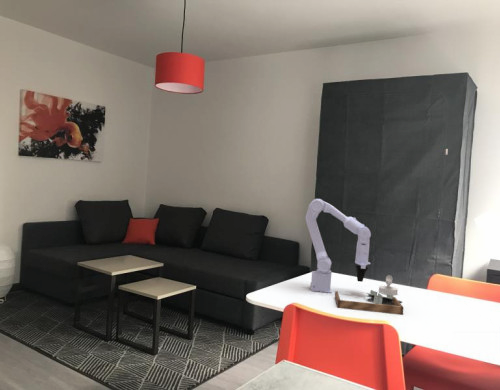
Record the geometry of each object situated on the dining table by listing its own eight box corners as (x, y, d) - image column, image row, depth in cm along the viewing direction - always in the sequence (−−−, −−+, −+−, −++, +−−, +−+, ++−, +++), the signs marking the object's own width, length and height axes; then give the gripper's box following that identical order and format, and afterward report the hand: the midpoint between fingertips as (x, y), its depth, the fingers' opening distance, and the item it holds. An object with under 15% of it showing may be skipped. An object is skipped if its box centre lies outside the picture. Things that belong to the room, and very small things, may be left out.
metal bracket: (396, 294, 178) (361, 287, 187) (394, 308, 177) (359, 300, 185) (403, 298, 190) (371, 291, 198) (401, 311, 189) (368, 303, 197)
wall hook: (379, 274, 200) (380, 271, 210) (378, 294, 200) (379, 289, 210) (398, 276, 197) (398, 273, 207) (397, 296, 198) (397, 292, 207)
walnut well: (337, 307, 172) (338, 300, 171) (334, 297, 187) (335, 291, 187) (402, 314, 168) (403, 307, 168) (394, 303, 184) (395, 297, 184)
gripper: (373, 255, 188) (370, 285, 188) (368, 251, 202) (366, 278, 202) (357, 254, 189) (355, 283, 189) (354, 249, 203) (351, 277, 203)
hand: (359, 281), depth 196 cm, fingers closed
